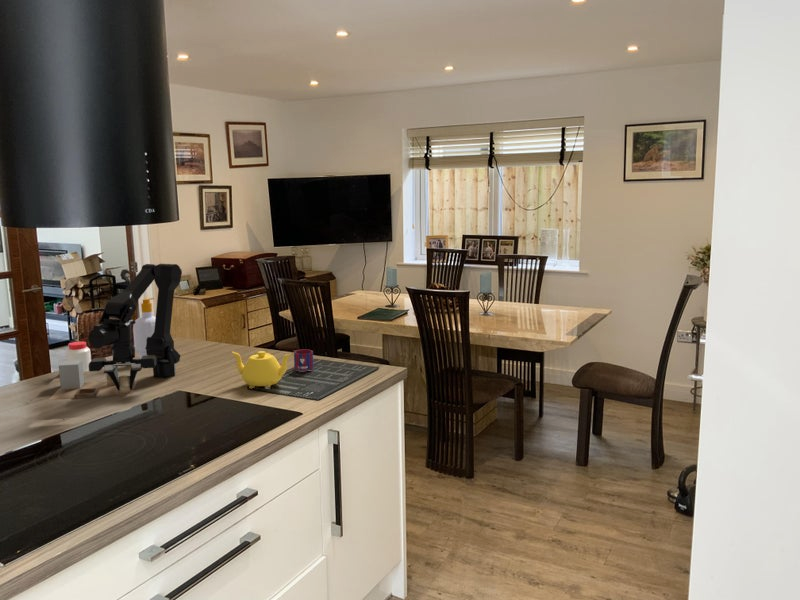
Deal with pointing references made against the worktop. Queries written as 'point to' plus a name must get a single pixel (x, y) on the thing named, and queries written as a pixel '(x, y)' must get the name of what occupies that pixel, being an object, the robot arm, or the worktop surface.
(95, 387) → the board
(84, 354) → the pill bottle
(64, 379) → the block
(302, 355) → the mug
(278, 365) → the teapot
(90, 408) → the worktop surface
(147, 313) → the soap bottle
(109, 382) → the peg
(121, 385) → the maple peg
